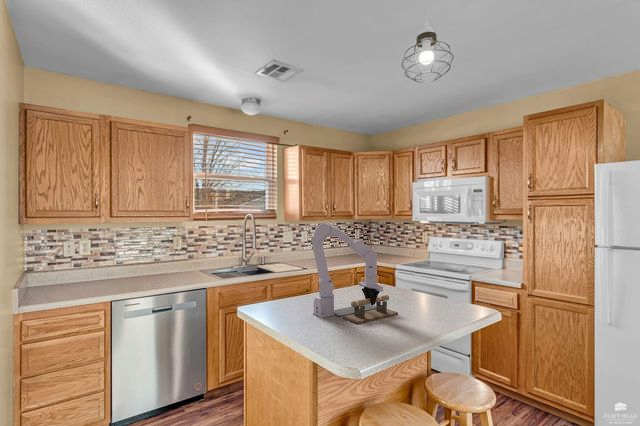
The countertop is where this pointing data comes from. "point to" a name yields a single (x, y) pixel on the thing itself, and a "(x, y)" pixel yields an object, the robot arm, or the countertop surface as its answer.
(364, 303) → the rail
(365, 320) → the hook stand
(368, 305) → the mat
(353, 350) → the countertop surface
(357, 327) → the countertop surface
